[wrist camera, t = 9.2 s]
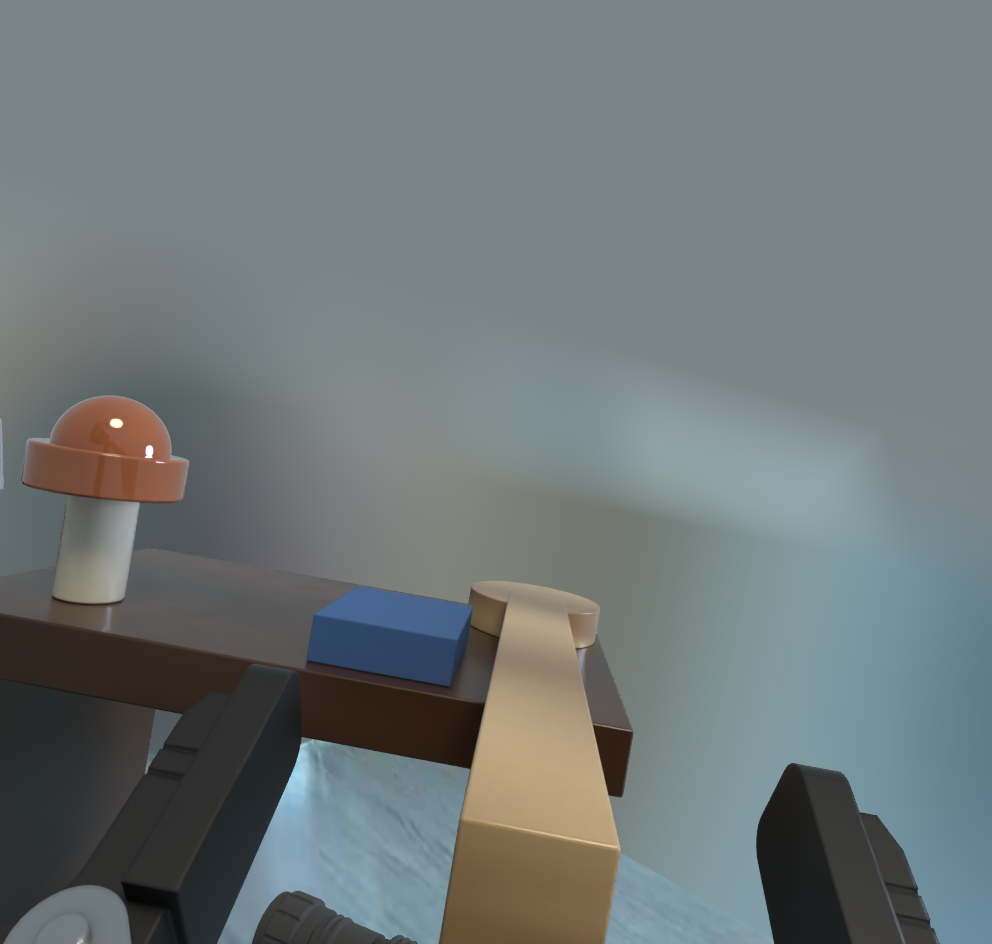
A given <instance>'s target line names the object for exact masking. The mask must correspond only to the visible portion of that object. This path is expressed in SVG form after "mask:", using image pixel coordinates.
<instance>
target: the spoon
mask: <svg viewBox="0 0 992 944" xmlns="http://www.w3.org/2000/svg"><path fill="white" fill-rule="evenodd" d="M468 606H472V607H473V611H472V617H471V623H470V625H472V626H473V627H475V628H477V629H479V630H481V631H483V632H485V633H488V634H490V635H493V636H496V637H500V638H499V643H498V647H497V652H496V656H495V661H494V665H493V670H492V674H491V679H490V683H489V688H488V692H487V697H486V701H485V706H484V710H483V715H482V719H481V724H480V728H479V733H478V737H477V742H476V746H475V751H474V755H473V760H472V764H471V769H470V774H469V778H468V783H467V787H466V792H465V796H464V801H463V805H462V810H461V814H460V819H459V825H458V831H457V837H456V843H455V849H454V855H453V861H452V867H451V873H450V879H449V885H448V891H447V897H446V903H445V909H444V915H443V921H442V928H441V934H440V940H439V944H605V941H606V935H607V929H608V923H609V917H610V911H611V905H612V899H613V893H614V887H615V881H616V875H617V869H618V863H619V857H620V851H621V850H620V845H619V841H618V836H617V832H616V827H615V823H614V818H613V814H612V809H611V805H610V801H609V796H608V792H607V787H606V783H605V778H604V774H603V769H602V765H601V761H600V756H599V752H598V747H597V743H596V738H595V734H594V729H593V725H592V721H591V716H590V712H589V707H588V703H587V698H586V694H585V689H584V685H583V680H582V676H581V672H580V667H579V663H578V658H577V654H576V649H575V648H584V647H588V646H591V645H592V644H594V642H595V638H596V632H597V624H598V619H599V614H600V607H599V606H598V605H597V604H596V603H594V602H592V601H590V600H588V599H586V598H583V597H580V596H577V595H574V594H571V593H567V592H564V591H560V590H555V589H551V588H546V587H542V586H536V585H530V584H523V583H515V582H505V581H482V582H477V583H474V584H472V586H471V592H470V597H469V603H468Z"/></svg>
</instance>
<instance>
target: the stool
mask: <svg viewBox="0 0 992 944" xmlns="http://www.w3.org/2000/svg"><path fill="white" fill-rule="evenodd" d="M55 568H56V566H55V567H50V568H45V569H40V570H34V571H29V572H24V573H19V574H14V575H9V576H3V577H0V921H5V920H9V919H13V918H15V917H18V916H21V915H24V914H26V913H27V912H28V911H29V910H31V909H32V908H33V907H35V906H36V905H37V904H38V903H40V902H41V901H43V900H45V899H46V898H48V897H50V896H51V895H54V894H56V893H58V892H60V891H62V890H63V889H65V888H66V887H67V886H68V885H69V884H70V883H71V882H72V881H73V880H74V879H75V877H76V876H77V875H78V874H79V873H80V871H81V870H82V868H83V867H84V866H85V864H86V863H87V861H88V860H89V858H90V857H91V855H92V853H93V852H94V850H95V849H96V847H97V846H98V844H99V843H100V841H101V840H102V838H103V837H104V835H105V833H106V832H107V830H108V829H109V827H110V826H111V824H112V823H113V821H114V820H115V818H116V817H117V815H118V813H119V812H120V810H121V809H122V807H123V806H124V804H125V803H126V801H127V800H128V798H129V796H130V795H131V793H132V792H133V790H134V789H135V787H136V786H137V784H138V783H139V781H140V780H141V778H142V776H143V775H144V774H145V770H146V764H147V757H148V751H149V745H150V739H151V733H152V726H153V719H154V714H155V709H158V710H164V711H169V712H174V713H179V714H184V713H185V712H186V711H187V710H189V709H190V708H191V707H192V706H194V705H195V704H196V703H197V702H199V701H200V700H201V699H202V698H204V697H205V696H206V695H207V694H209V693H210V692H211V691H216V692H221V693H227V694H232V693H233V691H234V689H235V688H236V686H237V684H238V683H239V681H240V679H241V678H242V676H243V674H244V673H245V671H246V670H247V668H248V667H249V666H250V665H252V664H260V665H265V666H271V667H276V668H282V669H287V670H293V671H297V672H298V673H299V677H300V696H301V718H302V737H305V738H311V739H316V740H321V741H326V742H332V743H337V744H342V745H347V746H353V747H358V748H363V749H368V750H374V751H379V752H384V753H389V754H395V755H400V756H405V757H410V758H416V759H421V760H426V761H431V762H437V763H442V764H447V765H452V766H458V767H463V768H468V769H471V764H472V760H473V755H474V751H475V746H476V742H477V737H478V733H479V728H480V724H481V719H482V715H483V710H484V706H485V701H486V697H487V692H488V688H489V683H490V679H491V674H492V670H493V665H494V661H495V656H496V652H497V647H498V643H499V638H500V637H496V636H493V635H490V634H488V633H485V632H483V631H481V630H479V629H477V628H475V627H473V626H472V625H470V629H469V635H468V642H467V645H466V648H465V650H464V653H463V655H462V658H461V660H460V663H459V665H458V668H457V670H456V673H455V675H454V678H453V680H452V683H451V685H450V687H445V686H439V685H434V684H428V683H423V682H417V681H412V680H407V679H401V678H396V677H390V676H385V675H379V674H374V673H368V672H363V671H358V670H352V669H347V668H341V667H336V666H330V665H325V664H320V663H314V662H309V661H307V653H308V647H309V641H310V635H311V629H312V623H313V617H314V614H315V613H316V612H318V611H320V610H321V609H323V608H324V607H326V606H328V605H329V604H331V603H332V602H334V601H335V600H337V599H339V598H340V597H342V596H343V595H345V594H346V593H348V592H350V591H351V590H353V589H354V588H356V587H358V586H360V587H366V588H371V589H377V590H382V591H388V592H394V593H399V594H405V595H411V596H416V597H422V598H428V599H433V600H439V601H445V602H450V603H456V604H462V605H467V606H468V604H465V603H459V602H454V601H448V600H442V599H437V598H431V597H425V596H420V595H414V594H408V593H403V592H397V591H391V590H386V589H380V588H375V587H369V586H363V585H358V584H352V583H346V582H341V581H335V580H329V579H323V578H317V577H312V576H307V575H300V574H295V573H290V572H284V571H278V570H273V569H267V568H261V567H256V566H250V565H244V564H239V563H233V562H228V561H222V560H216V559H211V558H205V557H199V556H194V555H188V554H182V553H177V552H170V551H165V550H160V549H154V548H148V549H144V550H138V551H133V552H132V557H131V563H130V569H129V575H128V581H127V588H126V594H125V597H124V599H123V600H121V601H119V602H114V603H109V604H78V603H70V602H65V601H62V600H59V599H56V598H54V597H53V596H52V587H53V580H54V574H55ZM575 649H576V654H577V658H578V663H579V667H580V672H581V676H582V680H583V685H584V689H585V694H586V698H587V703H588V707H589V712H590V716H591V721H592V725H593V729H594V734H595V738H596V743H597V747H598V752H599V756H600V761H601V765H602V769H603V774H604V778H605V783H606V787H607V792H608V795H610V796H615V797H622V796H623V793H624V787H625V781H626V775H627V769H628V763H629V757H630V751H631V745H632V739H633V729H632V726H631V724H630V721H629V718H628V716H627V713H626V711H625V708H624V705H623V703H622V700H621V697H620V695H619V692H618V689H617V687H616V684H615V682H614V679H613V676H612V673H611V671H610V668H609V666H608V663H607V661H606V658H605V655H604V652H603V650H602V647H601V644H600V642H599V639H598V636H597V634H596V638H595V642H594V644H592V645H591V646H588V647H584V648H575Z"/></svg>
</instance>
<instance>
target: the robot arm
mask: <svg viewBox="0 0 992 944" xmlns="http://www.w3.org/2000/svg"><path fill="white" fill-rule="evenodd" d="M301 737H302V718H301V696H300V677H299V673H298V672H297V671H293V670H287V669H282V668H276V667H271V666H265V665H260V664H252V665H250V666H249V667H248V668H247V670H246V671H245V673H244V674H243V676H242V678H241V679H240V681H239V683H238V684H237V686H236V688H235V689H234V691H233V693H232V694H227V693H221V692H216V691H211V692H210V693H209V694H207V695H206V696H205V697H204V698H202V699H201V700H200V701H199V702H197V703H196V704H195V705H194V706H192V707H191V708H190V709H189V710H187V711H186V712H185V713H184V714H183V715H182V716H181V718H180V720H179V721H178V723H177V724H176V726H175V727H174V729H173V730H172V732H171V733H170V735H169V737H168V738H167V740H166V741H165V743H164V747H163V749H160V750H159V752H158V753H157V755H156V756H155V758H154V760H153V761H152V763H151V764H150V766H149V767H148V772H147V773H146V774H144V775H143V776H142V778H141V780H140V781H139V783H138V784H137V786H136V787H135V789H134V790H133V792H132V793H131V795H130V796H129V798H128V800H127V801H126V803H125V804H124V806H123V807H122V809H121V810H120V812H119V813H118V815H117V817H116V818H115V820H114V821H113V823H112V824H111V826H110V827H109V829H108V830H107V832H106V833H105V835H104V837H103V838H102V840H101V841H100V843H99V844H98V846H97V847H96V849H95V850H94V852H93V853H92V855H91V857H90V858H89V860H88V861H87V863H86V864H85V866H84V867H83V868H82V870H81V871H80V873H79V874H78V875H77V876H76V877H75V879H74V880H73V881H72V882H71V883H70V884H69V885H68V886H67V887H66V888H65V889H63V890H62V891H60V892H58V893H56V894H54V895H51V896H50V897H48V898H46V899H45V900H43V901H41V902H40V903H38V904H37V905H36V906H35V907H33V908H32V909H31V910H29V911H28V912H27V913H26V914H24V915H21V916H18V917H15V918H13V919H9V920H5V921H0V944H217V942H218V940H219V937H220V935H221V933H222V931H223V928H224V926H225V924H226V922H227V919H228V917H229V915H230V912H231V910H232V908H233V906H234V903H235V901H236V899H237V897H238V894H239V892H240V890H241V887H242V885H243V883H244V881H245V878H246V876H247V874H248V871H249V869H250V867H251V865H252V862H253V860H254V858H255V856H256V853H257V851H258V849H259V846H260V844H261V842H262V840H263V837H264V835H265V833H266V831H267V828H268V826H269V824H270V821H271V819H272V817H273V815H274V812H275V810H276V808H277V806H278V803H279V801H280V799H281V796H282V794H283V792H284V790H285V787H286V785H287V783H288V780H289V778H290V776H291V774H292V771H293V769H294V766H295V763H296V760H297V757H298V753H299V749H300V744H301ZM756 841H757V842H756V848H757V859H758V864H759V869H760V875H761V880H762V885H763V890H764V895H765V900H766V905H767V909H768V914H769V920H770V925H771V929H772V934H773V939H774V944H940V943H939V941H938V938H937V936H936V933H935V931H934V929H933V928H931V927H930V918H929V915H928V913H927V910H926V908H925V905H924V902H923V900H922V897H921V896H919V895H918V892H917V890H918V887H917V885H916V882H915V880H914V877H913V874H912V872H911V869H910V867H909V864H908V862H907V859H906V856H905V854H904V851H903V850H902V848H901V847H900V846H899V844H898V843H897V842H896V840H895V839H894V838H893V836H892V835H891V834H890V833H889V832H888V830H887V828H886V827H885V826H884V824H883V823H882V822H881V821H880V819H879V818H878V817H877V815H871V814H866V813H860V812H859V810H858V807H857V804H856V801H855V798H854V796H853V792H852V790H851V787H850V785H849V782H848V780H847V778H846V777H845V776H844V774H842V773H841V772H838V771H833V770H828V769H822V768H816V767H810V766H805V765H800V764H794V763H791V764H789V765H788V766H787V767H786V769H785V770H784V772H783V774H782V776H781V778H780V780H779V782H778V784H777V786H776V788H775V790H774V792H773V794H772V796H771V798H770V800H769V802H768V804H767V806H766V808H765V810H764V812H763V814H762V816H761V818H760V821H759V824H758V830H757V839H756Z"/></svg>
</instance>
